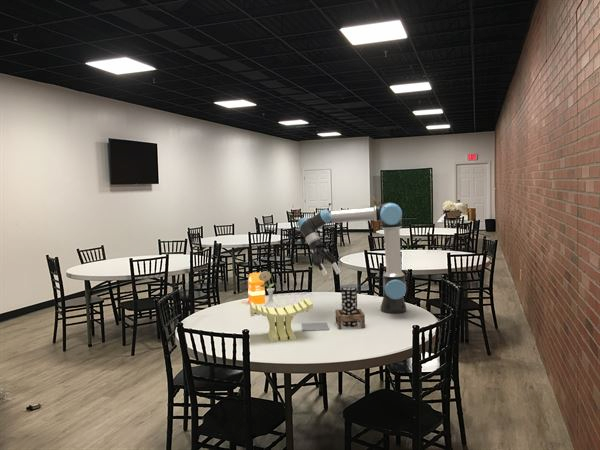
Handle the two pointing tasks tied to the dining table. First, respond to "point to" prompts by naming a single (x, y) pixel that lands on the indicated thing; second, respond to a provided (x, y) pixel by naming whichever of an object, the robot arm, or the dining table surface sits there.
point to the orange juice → (256, 289)
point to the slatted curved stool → (281, 318)
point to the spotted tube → (349, 305)
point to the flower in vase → (265, 277)
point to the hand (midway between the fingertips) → (332, 274)
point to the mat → (315, 326)
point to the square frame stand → (350, 317)
